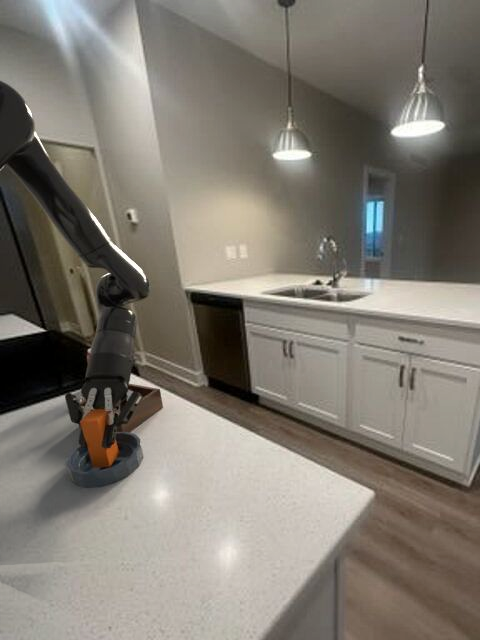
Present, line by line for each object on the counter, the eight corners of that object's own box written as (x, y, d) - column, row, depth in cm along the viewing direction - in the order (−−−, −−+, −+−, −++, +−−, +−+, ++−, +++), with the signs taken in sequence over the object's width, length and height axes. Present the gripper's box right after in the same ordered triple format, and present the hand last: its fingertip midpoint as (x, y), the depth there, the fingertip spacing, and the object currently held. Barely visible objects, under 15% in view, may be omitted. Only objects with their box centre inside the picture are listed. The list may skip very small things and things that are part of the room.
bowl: (55, 480, 62) (49, 464, 60) (109, 440, 72) (105, 427, 71) (108, 496, 58) (103, 480, 57) (157, 452, 69) (154, 438, 67)
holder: (79, 427, 77) (72, 406, 75) (122, 400, 88) (117, 381, 86) (124, 438, 73) (118, 416, 71) (163, 409, 84) (159, 388, 82)
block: (103, 453, 67) (91, 409, 63) (119, 453, 67) (108, 408, 63) (93, 467, 63) (79, 421, 59) (110, 467, 63) (97, 420, 59)
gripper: (63, 351, 64) (41, 446, 57) (141, 350, 64) (127, 443, 58) (84, 365, 71) (67, 452, 64) (154, 364, 71) (144, 449, 65)
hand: (96, 447), depth 61 cm, fingers closed on block, 3 cm apart
